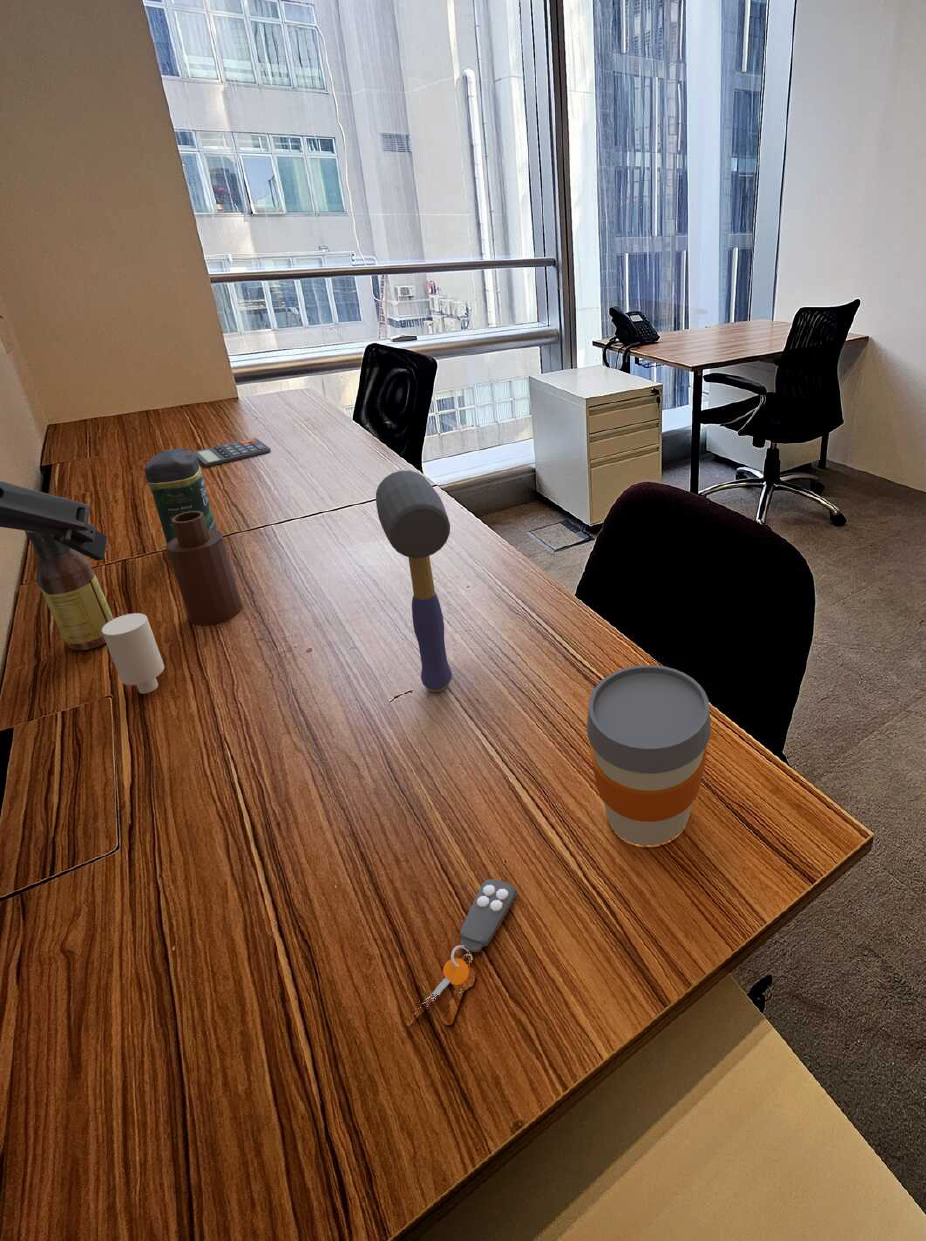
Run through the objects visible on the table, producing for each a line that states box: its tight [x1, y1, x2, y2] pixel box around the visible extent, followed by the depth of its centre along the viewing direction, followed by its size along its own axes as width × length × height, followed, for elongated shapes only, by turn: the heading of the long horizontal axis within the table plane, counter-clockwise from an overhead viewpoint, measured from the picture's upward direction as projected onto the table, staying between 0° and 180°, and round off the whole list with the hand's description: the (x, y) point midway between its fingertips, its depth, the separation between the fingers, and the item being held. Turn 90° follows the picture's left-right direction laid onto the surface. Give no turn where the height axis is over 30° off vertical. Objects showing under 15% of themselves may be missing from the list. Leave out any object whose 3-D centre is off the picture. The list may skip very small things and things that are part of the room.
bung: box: [102, 612, 165, 695], centre depth 89 cm, size 5×5×10 cm
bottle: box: [165, 511, 243, 626], centre depth 104 cm, size 7×7×17 cm
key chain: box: [414, 878, 517, 1014], centre depth 59 cm, size 13×4×2 cm, turn 163°
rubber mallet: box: [375, 470, 453, 693], centre depth 86 cm, size 12×8×30 cm, turn 27°
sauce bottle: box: [24, 530, 115, 651], centre depth 97 cm, size 7×6×20 cm
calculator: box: [192, 437, 272, 468], centre depth 172 cm, size 12×1×15 cm
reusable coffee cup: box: [586, 664, 712, 845], centre depth 70 cm, size 13×13×15 cm
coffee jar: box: [143, 447, 219, 544], centre depth 124 cm, size 10×8×19 cm
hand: (32, 557), depth 72 cm, fingers open, 13 cm apart
